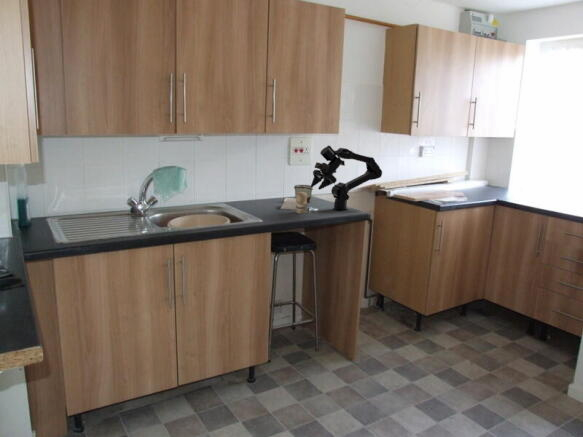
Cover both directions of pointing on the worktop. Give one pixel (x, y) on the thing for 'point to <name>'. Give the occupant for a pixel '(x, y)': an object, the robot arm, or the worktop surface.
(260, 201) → the worktop surface
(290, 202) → the well
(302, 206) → the wooden post
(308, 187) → the food container
